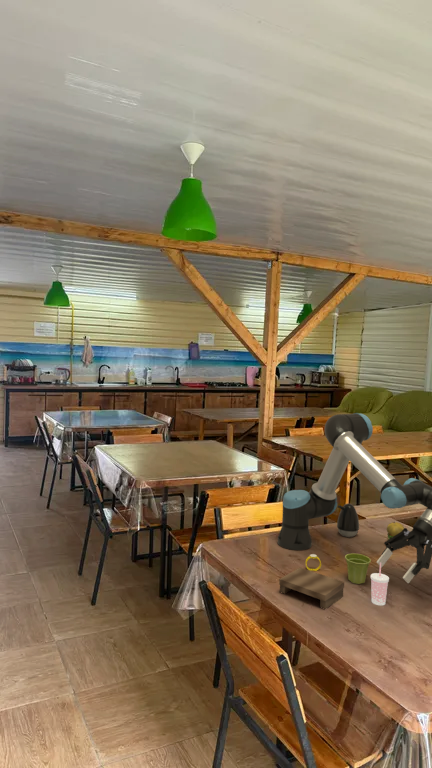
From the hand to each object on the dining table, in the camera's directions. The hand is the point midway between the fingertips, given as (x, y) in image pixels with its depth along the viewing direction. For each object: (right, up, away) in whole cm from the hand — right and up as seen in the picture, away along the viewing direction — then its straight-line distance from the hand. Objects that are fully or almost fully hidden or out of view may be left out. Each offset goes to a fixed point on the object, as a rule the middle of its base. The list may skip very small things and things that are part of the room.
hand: (391, 572), depth 177 cm
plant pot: (-7, -10, +17) cm, 21 cm away
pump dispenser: (+2, -7, +67) cm, 67 cm away
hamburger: (+20, -8, +54) cm, 58 cm away
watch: (-22, -9, +25) cm, 35 cm away
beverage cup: (-5, -11, 0) cm, 12 cm away
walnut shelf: (-27, -9, +5) cm, 29 cm away
